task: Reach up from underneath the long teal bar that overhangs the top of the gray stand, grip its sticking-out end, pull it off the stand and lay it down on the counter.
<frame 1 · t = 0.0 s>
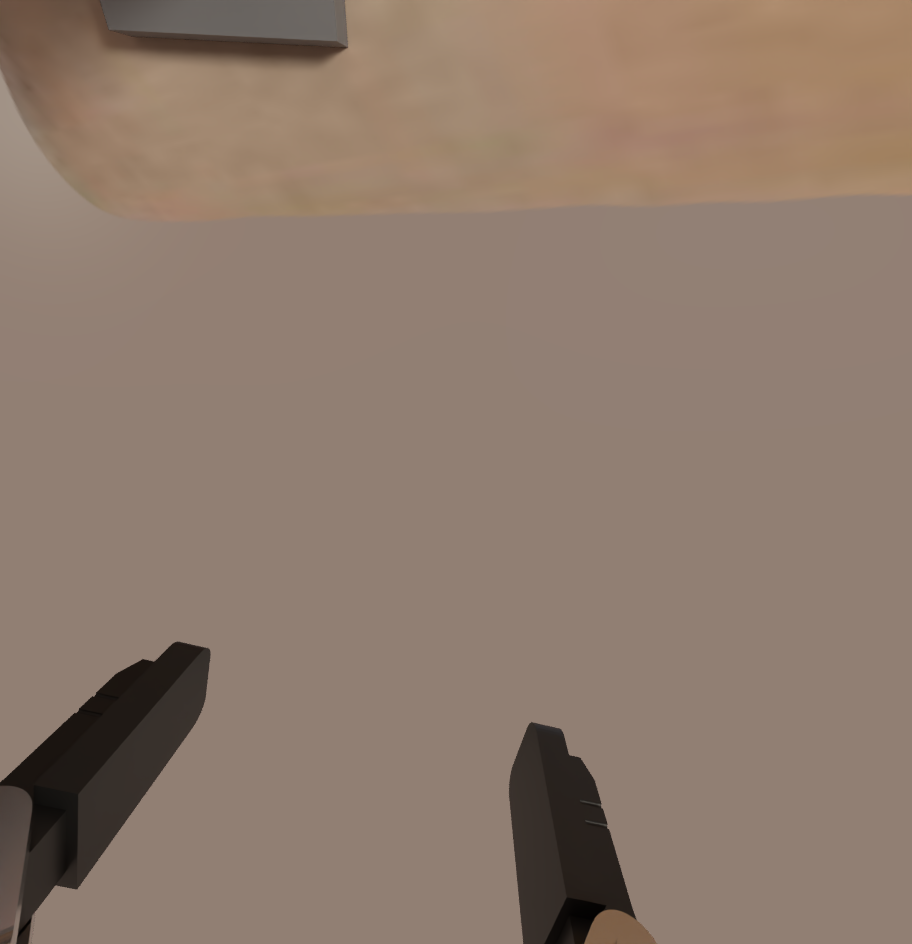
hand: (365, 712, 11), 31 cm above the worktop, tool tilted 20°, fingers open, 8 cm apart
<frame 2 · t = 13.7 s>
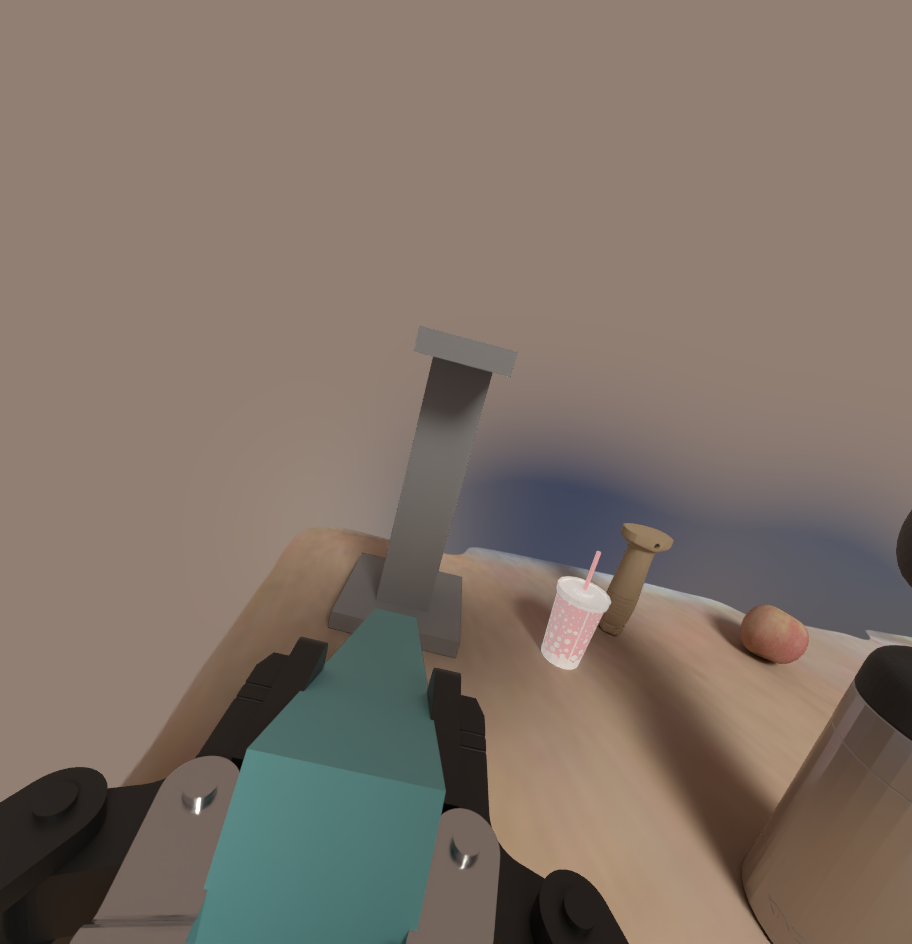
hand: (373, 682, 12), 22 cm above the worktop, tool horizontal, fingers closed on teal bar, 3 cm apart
beverage cup: (559, 656, 52), on the worktop
handle: (608, 630, 61), on the worktop
teal bar: (368, 713, 18), point 16 cm above the worktop, tilted 29°, touching gripper
gray stand: (399, 615, 52), on the worktop
apple: (760, 658, 64), on the worktop
when the fingers open (14 cm above the worktop, at t = 16.0 s): teal bar drops 8 cm, on the worktop.
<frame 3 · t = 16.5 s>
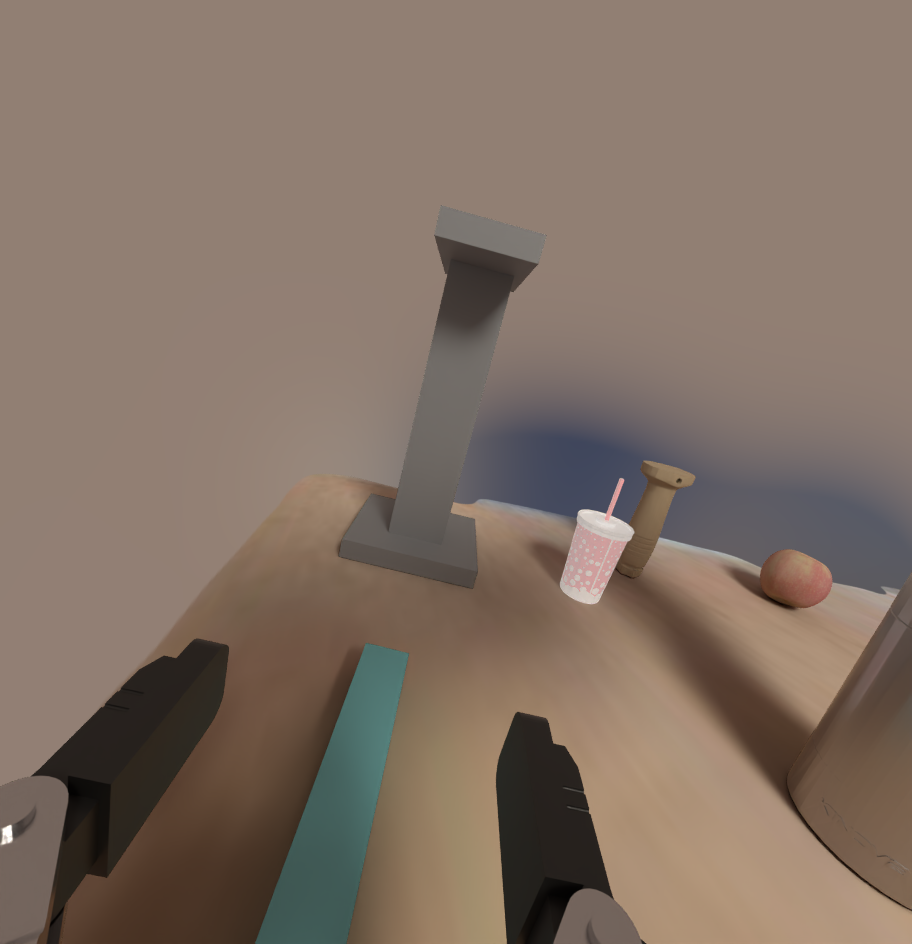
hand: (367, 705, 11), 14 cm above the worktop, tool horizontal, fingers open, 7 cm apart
beverage cup: (578, 593, 50), on the worktop
handle: (625, 573, 59), on the worktop
teal bar: (311, 915, 18), on the worktop
gray stand: (412, 550, 49), on the worktop
apple: (780, 604, 62), on the worktop
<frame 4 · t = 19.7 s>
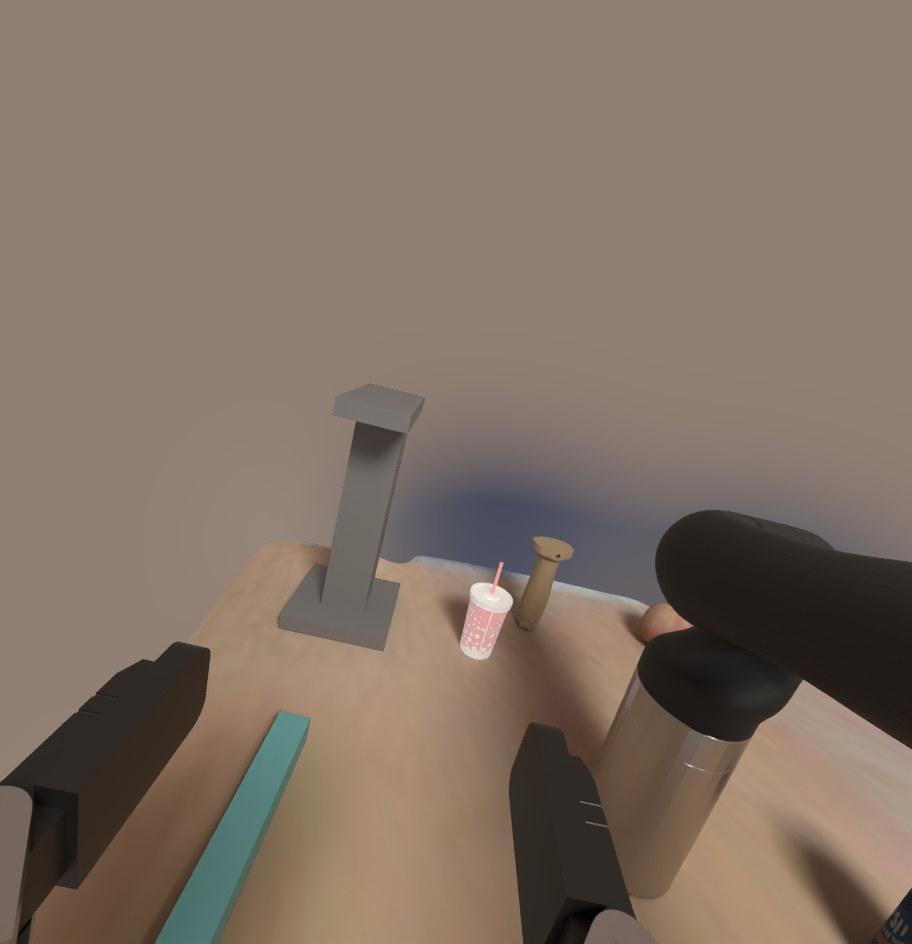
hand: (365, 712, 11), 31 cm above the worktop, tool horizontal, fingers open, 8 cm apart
beverage cup: (474, 649, 63), on the worktop
handle: (525, 626, 72), on the worktop
teal bar: (216, 894, 31), on the worktop
gray stand: (341, 617, 62), on the worktop
apple: (656, 649, 76), on the worktop
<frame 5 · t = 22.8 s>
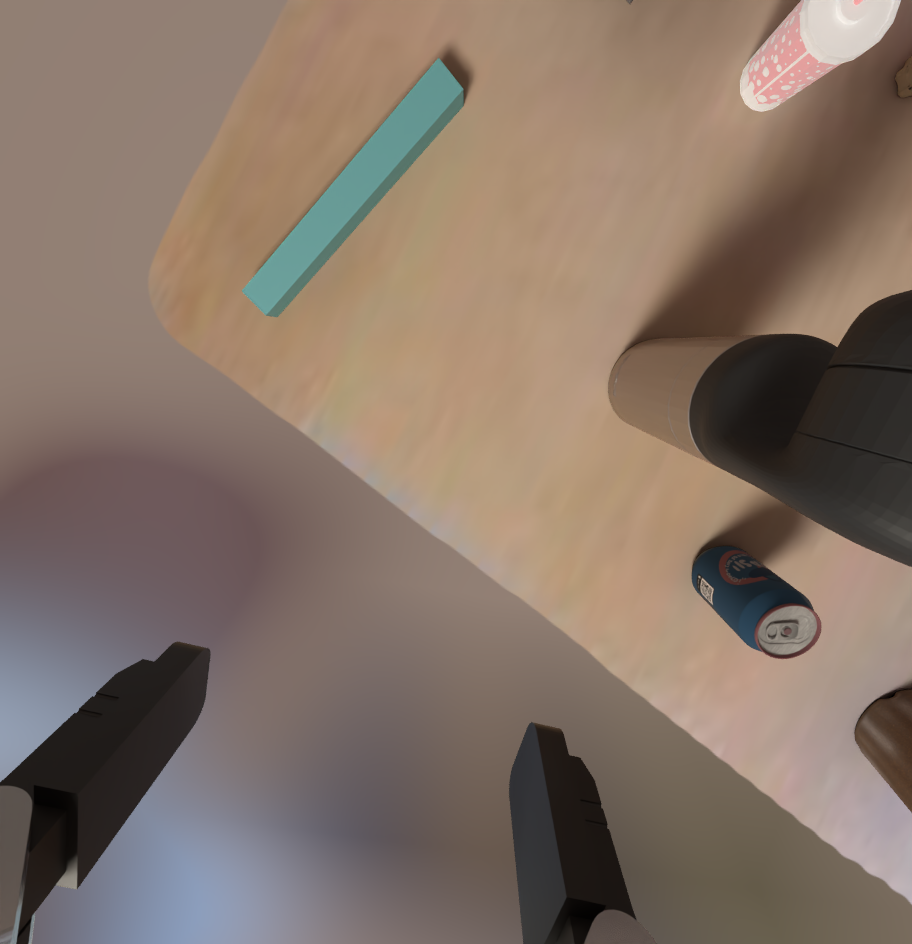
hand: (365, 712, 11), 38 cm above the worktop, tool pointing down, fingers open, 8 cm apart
beverage cup: (765, 81, 38), on the worktop
plant pot: (898, 724, 57), on the worktop
handle: (909, 80, 38), on the worktop
teal bar: (354, 206, 42), on the worktop
soda can: (715, 567, 51), on the worktop
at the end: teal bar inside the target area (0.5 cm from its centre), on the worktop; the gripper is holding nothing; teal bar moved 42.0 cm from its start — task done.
